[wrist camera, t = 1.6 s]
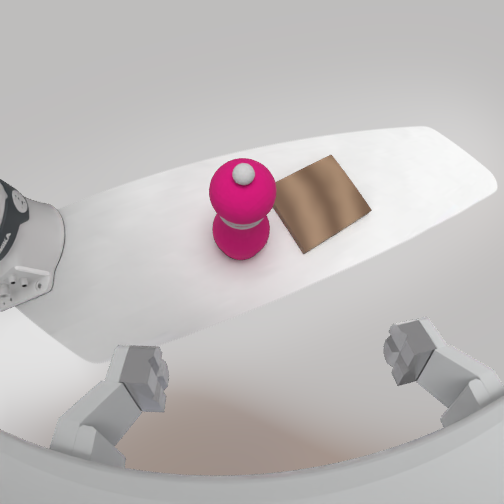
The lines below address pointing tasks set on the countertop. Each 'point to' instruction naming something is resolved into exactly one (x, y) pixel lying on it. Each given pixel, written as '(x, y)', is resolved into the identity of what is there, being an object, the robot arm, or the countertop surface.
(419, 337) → the robot arm
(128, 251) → the countertop surface
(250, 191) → the pepper mill
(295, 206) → the walnut board
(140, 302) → the countertop surface
